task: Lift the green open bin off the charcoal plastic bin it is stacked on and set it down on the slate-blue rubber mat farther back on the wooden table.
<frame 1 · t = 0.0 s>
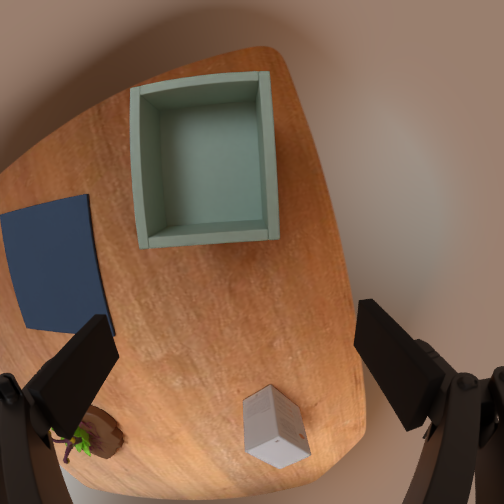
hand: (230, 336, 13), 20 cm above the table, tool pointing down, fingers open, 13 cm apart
plant: (81, 422, 40), on the table
small box: (271, 403, 39), on the table
mat: (48, 271, 32), on the table
green open bin: (210, 162, 23), point 7 cm above the table, touching bin lower
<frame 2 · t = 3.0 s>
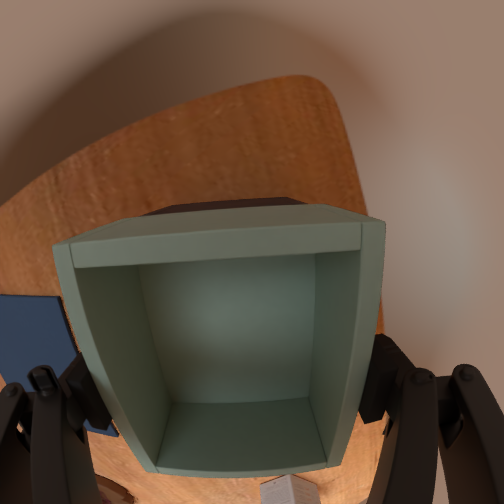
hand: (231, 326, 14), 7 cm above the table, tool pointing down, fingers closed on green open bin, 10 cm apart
plant: (89, 483, 31), on the table
small box: (289, 483, 30), on the table
mat: (32, 367, 23), on the table
bin lower: (234, 279, 21), on the table, touching green open bin
green open bin: (231, 324, 14), point 7 cm above the table, touching bin lower, gripper
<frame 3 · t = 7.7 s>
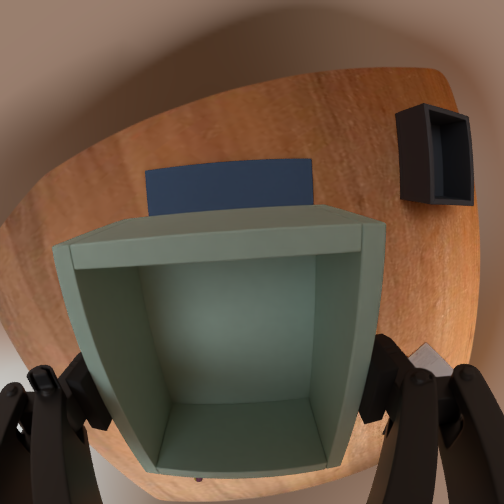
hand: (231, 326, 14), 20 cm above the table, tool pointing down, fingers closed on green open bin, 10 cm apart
small box: (419, 361, 40), on the table
mat: (232, 244, 33), on the table
bin lower: (422, 158, 31), on the table
green open bin: (231, 324, 14), point 20 cm above the table, touching gripper
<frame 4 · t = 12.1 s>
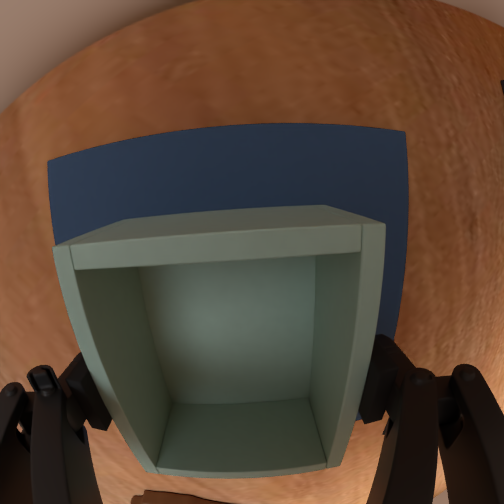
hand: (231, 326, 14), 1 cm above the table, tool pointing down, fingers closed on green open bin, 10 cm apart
mat: (231, 320, 15), on the table
green open bin: (231, 325, 14), point 1 cm above the table, touching gripper
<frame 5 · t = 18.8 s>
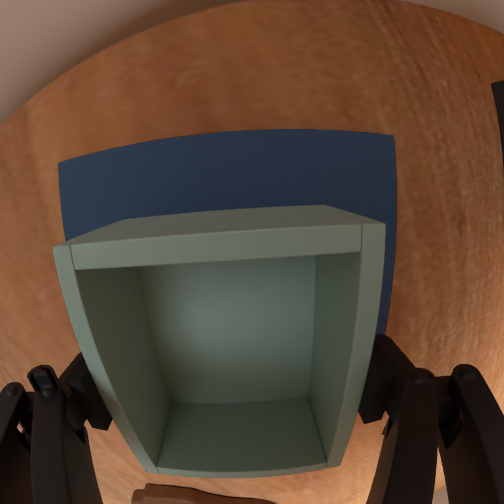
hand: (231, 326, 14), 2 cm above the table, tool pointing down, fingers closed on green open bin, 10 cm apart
mat: (231, 311, 16), on the table
green open bin: (231, 324, 14), point 2 cm above the table, touching gripper
when the fingers open (2 cm above the table, at t = 25.2 s): green open bin drops 2 cm, resting on mat.
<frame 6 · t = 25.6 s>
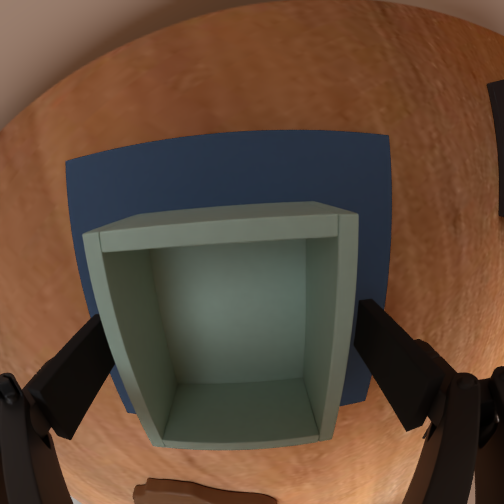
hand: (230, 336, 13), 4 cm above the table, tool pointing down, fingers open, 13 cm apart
mat: (232, 304, 16), on the table
green open bin: (232, 308, 16), resting on mat
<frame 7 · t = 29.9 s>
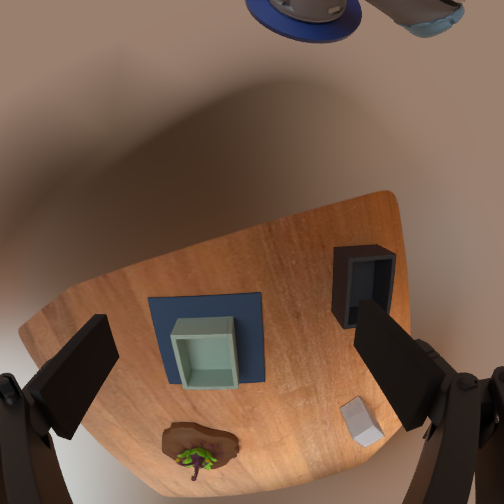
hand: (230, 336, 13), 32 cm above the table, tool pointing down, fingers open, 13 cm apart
plant: (198, 444, 57), on the table
small box: (355, 407, 55), on the table
mat: (209, 343, 49), on the table
bin lower: (354, 278, 46), on the table
green open bin: (209, 345, 48), resting on mat
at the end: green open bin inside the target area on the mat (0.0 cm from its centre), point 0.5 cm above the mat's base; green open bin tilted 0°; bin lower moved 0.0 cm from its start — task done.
